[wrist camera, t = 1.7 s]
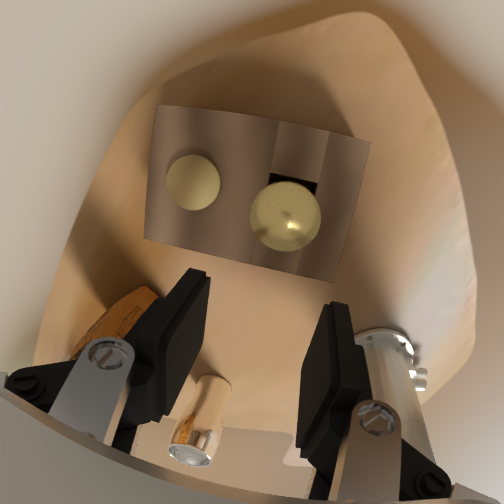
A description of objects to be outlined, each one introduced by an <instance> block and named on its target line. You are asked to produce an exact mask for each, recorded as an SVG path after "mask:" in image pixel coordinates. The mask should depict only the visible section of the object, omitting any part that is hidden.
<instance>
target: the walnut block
mask: <svg viewBox="0 0 504 504" xmlns="http://www.w3.org/2000/svg"><path fill="white" fill-rule="evenodd" d="M370 144H371V142H367V141H364V140H360V139H357V138H353V137H350V136H346V135H342V134H338V133H334V132H330V131H326V130H322V129H318V128H313V127H309V126H305V125H300V124H295V123H290V122H285V121H280V120H275V119H270V118H264V117H259V116H253V115H246V114H240V113H233V112H226V111H219V110H211V109H203V108H193V107H183V106H172V105H158V104H157V108H156V115H155V122H154V129H153V137H152V145H151V153H150V162H149V172H148V182H147V194H146V207H145V223H144V239H147V240H151V241H155V242H159V243H163V244H168V245H172V246H176V247H180V248H184V249H188V250H192V251H197V252H201V253H205V254H209V255H213V256H218V257H222V258H226V259H230V260H235V261H239V262H243V263H247V264H252V265H256V266H260V267H265V268H269V269H273V270H278V271H282V272H286V273H291V274H295V275H299V276H304V277H308V278H313V279H317V280H321V281H326V282H330V283H333V279H334V276H335V273H336V270H337V267H338V264H339V260H340V257H341V254H342V251H343V247H344V244H345V241H346V237H347V234H348V230H349V227H350V223H351V220H352V216H353V212H354V209H355V205H356V201H357V198H358V194H359V190H360V186H361V182H362V178H363V174H364V170H365V166H366V161H367V157H368V153H369V148H370ZM284 180H295V181H297V182H299V183H301V184H302V185H303V186H304V187H306V188H307V189H308V190H309V191H310V192H311V193H312V194H313V195H314V196H315V198H316V200H317V202H318V204H319V208H320V213H321V223H320V227H319V230H318V232H317V234H316V236H315V237H314V239H313V240H312V241H311V242H310V243H309V244H307V245H306V246H304V247H303V248H301V249H298V250H294V251H278V250H274V249H272V248H269V247H268V246H266V245H265V244H263V243H262V242H261V241H260V240H259V239H258V238H257V237H256V235H255V233H254V232H253V229H252V227H251V223H250V210H251V206H252V203H253V201H254V199H255V198H256V196H257V195H258V194H259V193H260V192H261V191H262V190H263V189H264V188H265V187H266V186H268V185H270V184H273V183H275V182H280V181H284Z"/></svg>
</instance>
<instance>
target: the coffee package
mask: <svg viewBox="0 0 504 504" xmlns="http://www.w3.org/2000/svg"><path fill="white" fill-rule="evenodd" d="M156 298H159V297H158V296H157V295H156V294H155V293H154V292H153V291H151V290H150V289H149V288H148V287H147V286H142V287H140V288H138V289H136V290H135V291H133V292H131V293H130V294H128V295H126V296H125V297H123V298H122V299H120V300H119V301H118V302H117V303H115V304H114V305H113V306H112V307H111V308H110V309H109V310H107V311H106V312H105V313H104V314H103V315H102V316H101V317H100V318H99V320H98V321H97V322H96V323H95V324H94V325H93V326H92V327H91V328H90V329H89V330H88V331H87V333H86V334H85V335H84V336H83V337H82V338H81V340H80V341H79V343H78V344H77V345H76V347H75V349H74V350H73V352H72V354H71V357H70V359H69V361H71V360H76V359H78V358H79V357H80V355H81V353H82V351H83V350H84V348H85V347H86V346H87V345H88V343H90V342H91V341H93V340H95V339H98V338H101V337H116V338H119V339H123V338H124V336H125V335H126V334H127V333H128V332H129V330H130V329H131V328H132V327H133V325H134V324H135V323H136V322H137V320H138V319H139V318H140V317H141V316H142V314H143V313H144V312H145V311H146V310H147V308H148V307H149V306H150V305H151V304H152V302H153V301H154V300H155V299H156Z"/></svg>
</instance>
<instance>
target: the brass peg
mask: <svg viewBox="0 0 504 504" xmlns="http://www.w3.org/2000/svg"><path fill="white" fill-rule="evenodd" d="M250 223H251V227H252V229H253V232H254V233H255V235H256V237H257V238H258V239H259V240H260V241H261V242H262V243H263V244H265V245H266V246H268V247H269V248H272V249H274V250H278V251H294V250H298V249H301V248H303V247H304V246H306V245H307V244H309V243H310V242H311V241H312V240H313V239H314V237H315V236H316V234H317V232H318V230H319V227H320V223H321V213H320V208H319V204H318V202H317V200H316V198H315V196H314V195H313V194H312V193H311V192H310V191H309V190H308V189H307V188H306V187H304V186H303V185H302V184H301V183H299V182H297V181H295V180H284V181H280V182H275V183H273V184H270V185H268V186H266V187H265V188H264V189H263V190H262V191H261V192H260V193H259V194H258V195H257V196H256V198H255V199H254V201H253V203H252V206H251V210H250Z"/></svg>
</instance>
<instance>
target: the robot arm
mask: <svg viewBox="0 0 504 504" xmlns="http://www.w3.org/2000/svg"><path fill="white" fill-rule="evenodd" d="M210 281H211V278H210V277H207V276H206V272H205V271H201V270H197V269H193V268H189V269H188V270H187V271H186V273H185V274H184V275H183V276H182V277H181V279H180V280H179V281H178V282H177V284H176V285H175V286H174V287H173V289H172V290H171V291H170V292H169V294H168V295H167V296H166V298H165V299H162V298H156V299H155V300H154V301H153V302H152V304H151V305H150V306H149V307H148V308H147V310H146V311H145V312H144V313H143V314H142V316H141V317H140V318H139V319H138V320H137V322H136V323H135V324H134V325H133V327H132V328H131V329H130V330H129V332H128V333H127V334H126V335H125V336H124V338H123V339H119V338H116V337H101V338H98V339H95V340H93V341H91V342H90V343H88V345H87V346H86V347H85V348H84V350H83V351H82V353H81V355H80V357H79V358H78V359H76V360H71V361H65V362H59V363H53V364H46V365H40V366H33V367H27V368H22V369H19V370H17V371H15V372H13V373H12V374H11V375H10V376H8V374H7V373H6V372H0V504H500V502H498V501H497V500H495V499H493V498H491V497H488V496H486V495H483V494H481V493H479V492H476V491H474V490H472V489H469V488H467V487H465V486H463V485H460V484H458V483H455V484H454V485H451V481H450V479H449V477H448V475H447V474H446V473H445V472H444V471H443V470H442V469H441V468H440V467H438V466H437V465H436V462H435V458H434V455H433V451H432V448H431V444H430V440H429V437H428V433H427V429H426V425H425V421H424V417H423V414H422V410H421V407H420V403H419V400H418V397H417V393H416V391H424V390H425V388H426V384H427V383H426V380H425V379H416V378H415V379H412V377H413V376H417V377H425V376H426V375H427V369H424V368H415V366H413V359H414V351H413V348H412V345H411V343H410V341H409V340H408V339H407V337H406V336H405V335H403V334H402V333H400V332H398V331H395V330H392V329H386V328H378V329H371V330H367V331H364V332H361V333H359V334H357V335H355V336H354V333H353V328H352V323H351V317H350V312H349V307H348V305H347V304H343V303H338V302H334V301H332V302H331V303H330V305H328V304H325V305H324V307H323V309H322V312H321V315H320V318H319V321H318V324H317V326H316V329H315V332H314V335H313V337H312V340H311V343H310V346H309V348H308V351H307V354H306V356H305V359H304V361H303V365H302V369H301V381H300V396H299V409H298V422H297V434H296V448H301V453H300V458H307V459H308V461H309V462H310V463H311V464H312V465H313V466H314V467H313V469H312V473H311V476H310V480H309V483H308V487H307V490H306V493H305V496H304V499H300V498H292V497H284V496H277V495H271V494H264V493H258V492H253V491H248V490H243V489H238V488H233V487H229V486H225V485H221V484H216V483H213V482H209V481H205V480H202V479H198V478H195V477H191V476H188V475H184V474H181V473H178V472H175V471H172V470H169V469H166V468H163V467H160V466H157V465H155V464H152V463H149V462H147V461H144V460H141V459H139V458H136V457H134V455H135V451H136V447H137V443H138V439H139V436H140V432H141V429H142V424H145V423H148V422H150V421H151V420H152V421H155V422H158V423H159V422H160V420H161V418H162V416H163V415H166V416H168V415H169V414H170V412H171V410H172V408H173V406H174V404H175V401H176V399H177V397H178V395H179V393H180V391H181V389H182V387H183V384H184V382H185V380H186V378H187V376H188V374H189V372H190V370H191V368H192V365H193V363H194V361H195V359H196V357H197V355H198V353H199V351H200V349H201V346H202V343H203V338H204V330H205V321H206V313H207V305H208V297H209V289H210Z"/></svg>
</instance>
